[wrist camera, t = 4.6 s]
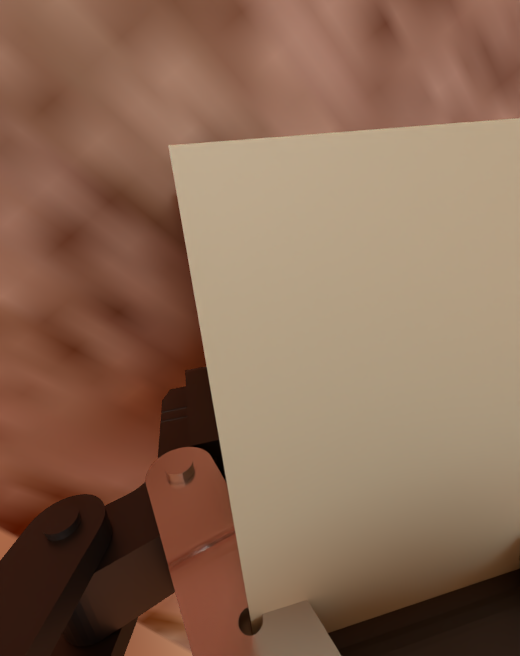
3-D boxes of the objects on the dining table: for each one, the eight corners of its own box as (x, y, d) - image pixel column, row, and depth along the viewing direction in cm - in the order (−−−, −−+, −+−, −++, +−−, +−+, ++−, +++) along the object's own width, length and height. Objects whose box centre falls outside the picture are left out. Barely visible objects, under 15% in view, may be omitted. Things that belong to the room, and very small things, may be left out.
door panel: (279, 179, 14) (712, 101, 3) (296, 428, 18) (481, 788, 7) (176, 189, 13) (167, 145, 2) (220, 445, 17) (294, 872, 6)
